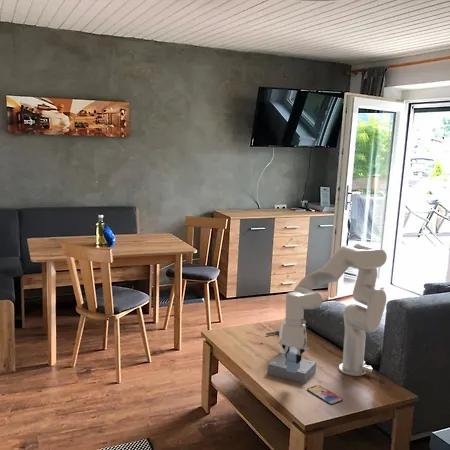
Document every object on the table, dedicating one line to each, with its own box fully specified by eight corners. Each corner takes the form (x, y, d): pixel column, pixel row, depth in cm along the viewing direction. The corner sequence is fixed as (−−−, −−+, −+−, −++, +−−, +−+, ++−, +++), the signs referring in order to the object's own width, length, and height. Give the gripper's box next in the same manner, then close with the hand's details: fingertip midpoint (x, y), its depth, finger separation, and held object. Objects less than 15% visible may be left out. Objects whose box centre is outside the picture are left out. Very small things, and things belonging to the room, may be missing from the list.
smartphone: (331, 404, 210) (306, 388, 222) (330, 406, 210) (305, 390, 223) (343, 399, 214) (318, 384, 227) (343, 401, 214) (318, 386, 227)
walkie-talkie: (294, 330, 292) (265, 335, 283) (295, 322, 291) (265, 328, 282) (304, 335, 284) (273, 341, 275) (304, 328, 284) (274, 333, 274)
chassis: (315, 371, 240) (316, 361, 239) (304, 383, 228) (305, 373, 227) (280, 362, 249) (280, 352, 248) (267, 373, 237) (268, 363, 236)
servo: (301, 366, 227) (301, 348, 225) (293, 374, 219) (293, 355, 218) (292, 364, 229) (293, 346, 227) (284, 372, 221) (285, 353, 220)
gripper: (316, 321, 219) (314, 362, 222) (279, 314, 227) (279, 353, 231) (309, 327, 213) (308, 369, 216) (272, 320, 221) (272, 360, 224)
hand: (293, 360), depth 223 cm, fingers closed on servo, 4 cm apart
